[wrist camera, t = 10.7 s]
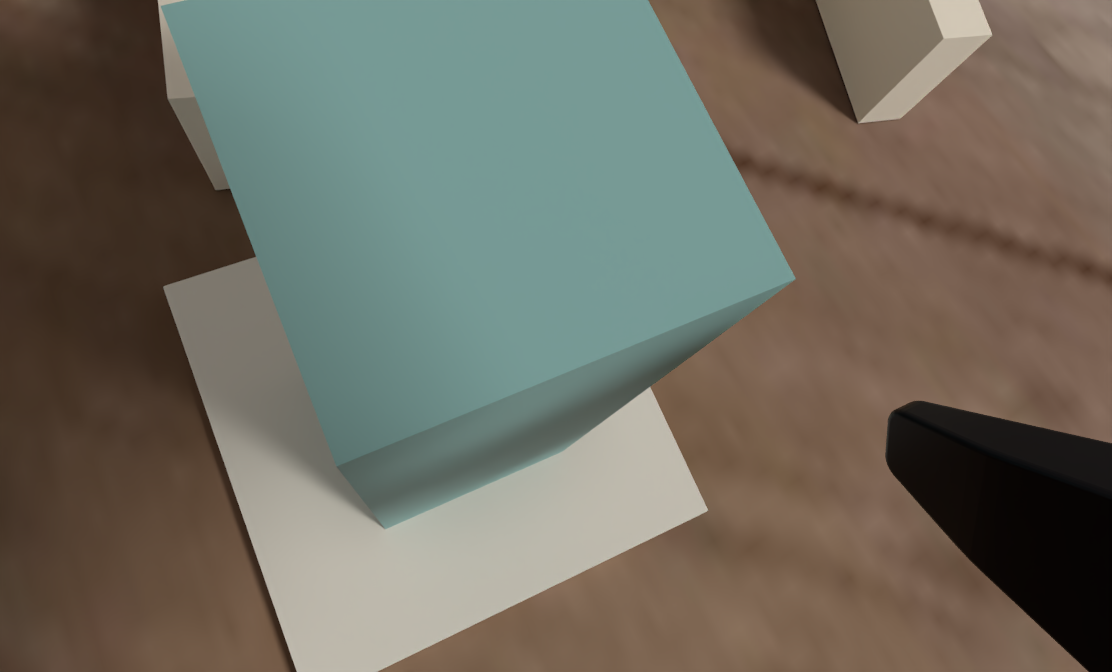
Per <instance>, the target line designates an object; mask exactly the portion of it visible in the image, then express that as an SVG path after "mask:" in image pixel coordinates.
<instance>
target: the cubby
mask: <svg viewBox="0 0 1112 672" xmlns="http://www.w3.org/2000/svg"><path fill="white" fill-rule="evenodd" d="M180 1H184V0H158V6H159V17H160V27H161V37H162V47H163V57H164V67H165V77H166V87H167V98H168V101H169V103H170V105H171V106H172V108H173V110H174V112H175V114H176V116H177V118H178V120H179V122H180V124H181V125H182V127H183V129H184V131H185V133H186V135H187V137H188V139H189V141H190V143H191V144H192V146H193V148H194V150H195V152H196V154H197V156H198V158H199V160H200V162H201V163H202V165H203V167H204V169H205V171H206V173H207V175H208V177H209V179H210V181H211V182H212V184H213V186H214V188H215V190H222V189H230V187H229V184H228V181H227V179H226V176H225V174H224V171H223V168H222V166H221V163H220V161H219V158H218V155H217V153H216V150H215V147H214V145H213V142H212V140H211V137H210V134H209V132H208V129H207V126H206V124H205V121H204V119H203V116H202V113H201V111H200V108H199V106H198V103H197V100H196V98H195V95H194V92H193V90H192V87H191V85H190V82H189V79H188V77H187V74H186V72H185V69H184V66H183V64H182V61H181V58H180V56H179V53H178V51H177V48H176V45H175V43H174V40H173V37H172V35H171V32H170V30H169V27H168V24H167V22H166V19H165V17H164V14H163V11H162V9H161V6H162V5H167V4H171V3H175V2H180ZM816 3H817V6H818V9H819V12H820V14H821V17H822V20H823V23H824V26H825V29H826V32H827V35H828V38H829V41H830V43H831V46H832V49H833V52H834V55H835V58H836V61H837V64H838V67H839V69H840V72H841V75H842V78H843V81H844V84H845V87H846V90H847V93H848V96H849V98H850V101H851V104H852V107H853V110H854V113H855V116H856V119H857V122H858V123H864V122H874V121H884V120H893V119H900V118H902V117H903V116H904V115H905V114H906V113H907V112H908V111H909V110H910V109H911V108H913V107H914V106H915V105H916V104H917V103H918V102H919V101H920V100H921V99H922V98H924V97H925V96H926V95H927V94H928V93H929V92H930V91H931V90H932V89H933V88H935V87H936V86H937V85H938V84H939V83H940V82H941V81H942V80H943V79H944V78H946V77H947V76H948V75H949V74H950V73H951V72H952V71H953V70H954V69H955V68H957V67H958V66H959V65H960V64H961V63H962V62H963V61H964V60H965V59H966V58H968V57H969V56H970V55H971V54H972V53H973V52H974V51H975V50H976V49H977V48H979V47H980V46H981V45H982V44H983V43H984V42H985V41H986V40H987V39H988V38H990V37H991V36H992V33H991V30H990V28H989V25H988V23H987V20H986V18H985V15H984V13H983V10H982V8H981V6H980V3H979V1H978V0H816Z"/></svg>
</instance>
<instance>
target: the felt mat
mask: <svg viewBox="0 0 1112 672" xmlns="http://www.w3.org/2000/svg"><path fill="white" fill-rule="evenodd" d="M163 289H164V291H165V294H166V297H167V300H168V303H169V306H170V309H171V312H172V314H173V317H174V320H175V323H176V326H177V329H178V332H179V335H180V337H181V340H182V343H183V346H184V349H185V352H186V355H187V358H188V360H189V363H190V366H191V369H192V372H193V375H194V378H195V381H196V383H197V386H198V389H199V392H200V395H201V398H202V401H203V404H204V406H205V409H206V412H207V415H208V418H209V421H210V424H211V427H212V429H213V432H214V435H215V438H216V441H217V444H218V447H219V450H220V452H221V455H222V458H223V461H224V464H225V467H226V470H227V473H228V475H229V478H230V481H231V484H232V487H233V490H234V493H235V496H236V498H237V501H238V504H239V507H240V510H241V513H242V516H243V519H244V521H245V524H246V527H247V530H248V533H249V536H250V539H251V542H252V544H253V547H254V550H255V553H256V556H257V559H258V562H259V565H260V567H261V570H262V573H263V576H264V579H265V582H266V585H267V588H268V590H269V593H270V596H271V599H272V602H273V605H274V608H275V611H276V613H277V616H278V619H279V622H280V625H281V628H282V631H283V634H284V636H285V639H286V642H287V645H288V648H289V651H290V654H291V657H292V659H293V662H294V665H295V668H296V671H297V672H377V671H380V670H382V669H384V668H386V667H388V666H390V665H392V664H394V663H396V662H398V661H400V660H402V659H404V658H406V657H408V656H410V655H412V654H414V653H417V652H419V651H421V650H423V649H425V648H427V647H429V646H431V645H433V644H435V643H437V642H439V641H441V640H443V639H445V638H447V637H449V636H452V635H454V634H456V633H458V632H460V631H462V630H464V629H466V628H468V627H470V626H472V625H474V624H476V623H478V622H480V621H482V620H484V619H486V618H489V617H491V616H493V615H495V614H497V613H499V612H501V611H503V610H505V609H507V608H509V607H511V606H513V605H515V604H517V603H519V602H521V601H524V600H526V599H528V598H530V597H532V596H534V595H536V594H538V593H540V592H542V591H544V590H546V589H548V588H550V587H552V586H554V585H556V584H559V583H561V582H563V581H565V580H567V579H569V578H571V577H573V576H575V575H577V574H579V573H581V572H583V571H585V570H587V569H589V568H591V567H593V566H596V565H598V564H600V563H602V562H604V561H606V560H608V559H610V558H612V557H614V556H616V555H618V554H620V553H622V552H624V551H626V550H628V549H631V548H633V547H635V546H637V545H639V544H641V543H643V542H645V541H647V540H649V539H651V538H653V537H655V536H657V535H659V534H661V533H663V532H665V531H668V530H670V529H672V528H674V527H676V526H678V525H680V524H682V523H684V522H686V521H688V520H690V519H692V518H694V517H696V516H698V515H700V514H703V513H705V512H707V511H708V509H707V507H706V505H705V503H704V501H703V499H702V496H701V494H700V492H699V490H698V488H697V486H696V484H695V482H694V479H693V477H692V475H691V473H690V471H689V469H688V467H687V465H686V462H685V460H684V458H683V456H682V454H681V452H680V450H679V448H678V445H677V443H676V441H675V439H674V437H673V435H672V433H671V431H670V428H669V426H668V424H667V422H666V420H665V418H664V416H663V414H662V411H661V409H660V407H659V405H658V403H657V401H656V399H655V397H654V394H653V392H652V390H651V388H650V387H649V388H648V389H646V390H645V391H644V392H642V393H641V394H640V395H638V396H637V397H635V398H634V399H633V400H631V401H630V402H629V403H627V404H626V405H625V406H623V407H622V408H621V409H619V410H618V411H617V412H615V413H614V414H613V415H611V416H610V417H608V418H607V419H606V420H604V421H603V422H602V423H600V424H599V425H598V426H596V427H595V428H594V429H592V430H591V431H590V432H588V433H587V434H585V435H584V436H583V437H581V438H580V439H579V440H577V441H576V442H575V443H573V444H572V445H571V446H569V447H568V448H567V449H565V450H564V451H562V452H560V453H558V454H556V455H553V456H551V457H549V458H547V459H544V460H542V461H540V462H538V463H535V464H533V465H531V466H528V467H526V468H524V469H522V470H519V471H517V472H515V473H512V474H510V475H508V476H506V477H503V478H501V479H499V480H497V481H494V482H492V483H490V484H487V485H485V486H483V487H481V488H478V489H476V490H474V491H471V492H469V493H467V494H465V495H462V496H460V497H458V498H456V499H453V500H451V501H449V502H446V503H444V504H442V505H440V506H437V507H435V508H433V509H431V510H428V511H426V512H424V513H421V514H419V515H417V516H415V517H412V518H410V519H408V520H405V521H403V522H401V523H399V524H396V525H394V526H392V527H390V528H387V529H385V528H384V527H383V525H382V524H381V523H380V522H379V520H378V519H377V518H376V517H375V515H374V514H373V513H372V511H371V510H370V509H369V508H368V506H367V505H366V504H365V502H364V501H363V500H362V499H361V497H360V496H359V495H358V493H357V492H356V491H355V490H354V488H353V487H352V486H351V485H350V483H349V482H348V481H347V479H346V478H345V477H344V476H343V474H342V473H341V472H340V470H339V469H338V468H337V467H336V464H335V462H334V459H333V456H332V454H331V451H330V448H329V446H328V443H327V441H326V438H325V435H324V433H323V430H322V428H321V425H320V422H319V420H318V417H317V414H316V412H315V409H314V407H313V404H312V401H311V399H310V396H309V393H308V391H307V388H306V386H305V383H304V380H303V378H302V375H301V373H300V370H299V367H298V365H297V362H296V359H295V357H294V354H293V352H292V349H291V346H290V344H289V341H288V339H287V336H286V333H285V331H284V328H283V325H282V323H281V320H280V318H279V315H278V312H277V310H276V307H275V304H274V302H273V299H272V297H271V294H270V291H269V289H268V286H267V284H266V281H265V278H264V276H263V273H262V270H261V268H260V265H259V263H258V260H257V257H254V258H251V259H247V260H244V261H241V262H238V263H235V264H232V265H229V266H225V267H222V268H219V269H216V270H213V271H210V272H207V273H203V274H200V275H197V276H194V277H191V278H188V279H185V280H181V281H178V282H175V283H172V284H169V285H166V286H163Z"/></svg>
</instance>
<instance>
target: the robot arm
mask: <svg viewBox="0 0 1112 672" xmlns="http://www.w3.org/2000/svg"><path fill="white" fill-rule="evenodd" d="M885 457H886V462H887V465H888V467H889V469H890V470H891V472H892V473H893V475H894V476H895V477H896V478H897V479H898V481H899V482H900V483H901V484H902V485H903V486H904V487H905V488H906V490H907V491H908V492H909V493H910V494H911V495H912V496H913V497H914V499H915V500H916V501H917V502H918V503H919V504H920V505H921V506H922V508H923V509H924V510H925V511H926V512H927V513H928V514H929V515H930V517H931V518H932V519H933V520H934V521H935V522H936V523H937V525H938V526H939V527H940V528H941V529H942V530H943V531H944V532H945V534H946V535H947V536H948V537H949V538H950V539H951V540H952V541H953V543H954V544H955V545H956V546H957V547H958V548H959V549H960V550H961V551H962V552H963V553H964V554H965V555H966V557H967V558H968V559H969V560H970V561H971V562H972V563H973V564H974V565H975V566H976V567H977V568H978V569H980V570H981V571H982V572H983V573H984V574H985V575H986V576H987V577H988V578H989V579H990V580H991V581H992V582H993V583H994V584H995V585H996V586H998V587H999V588H1000V589H1001V590H1002V591H1003V592H1004V593H1005V594H1006V595H1007V596H1008V597H1009V598H1010V599H1011V600H1012V601H1014V602H1015V603H1016V604H1017V605H1018V606H1019V607H1020V608H1021V609H1022V610H1023V611H1024V612H1025V613H1026V614H1027V615H1029V616H1030V617H1031V618H1032V619H1033V620H1034V621H1035V622H1036V623H1037V624H1038V625H1039V626H1040V627H1041V628H1042V629H1044V630H1045V631H1046V632H1047V633H1048V634H1049V635H1050V636H1051V637H1052V638H1053V639H1054V640H1055V641H1056V642H1057V643H1058V644H1060V645H1061V646H1062V647H1063V648H1064V649H1065V650H1066V651H1067V652H1068V653H1069V654H1070V655H1071V656H1072V657H1073V658H1075V659H1076V660H1077V661H1078V662H1079V663H1080V664H1081V665H1082V666H1083V667H1084V668H1085V669H1086V670H1087V671H1088V672H1112V443H1108V442H1103V441H1099V440H1094V439H1090V438H1085V437H1081V436H1076V435H1072V434H1067V433H1063V432H1059V431H1054V430H1050V429H1045V428H1041V427H1036V426H1032V425H1027V424H1023V423H1018V422H1014V421H1010V420H1005V419H1001V418H996V417H992V416H987V415H983V414H978V413H974V412H969V411H965V410H961V409H956V408H952V407H947V406H943V405H938V404H934V403H929V402H925V401H913V402H910V403H908V404H906V405H904V406H902V407H900V408H898V409H896V410H894V411H893V412H891V414H890V416H889V418H888V427H887V440H886V453H885Z"/></svg>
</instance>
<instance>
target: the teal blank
mask: <svg viewBox="0 0 1112 672" xmlns="http://www.w3.org/2000/svg"><path fill="white" fill-rule="evenodd" d="M161 9H162V11H163V14H164V17H165V19H166V22H167V24H168V27H169V30H170V32H171V35H172V37H173V40H174V43H175V45H176V48H177V51H178V53H179V56H180V58H181V61H182V64H183V66H184V69H185V72H186V74H187V77H188V79H189V82H190V85H191V87H192V90H193V92H194V95H195V98H196V100H197V103H198V106H199V108H200V111H201V113H202V116H203V119H204V121H205V124H206V126H207V129H208V132H209V134H210V137H211V140H212V142H213V145H214V147H215V150H216V153H217V155H218V158H219V161H220V163H221V166H222V168H223V171H224V174H225V176H226V179H227V181H228V184H229V187H230V189H231V192H232V195H233V197H234V200H235V202H236V205H237V208H238V210H239V213H240V215H241V218H242V221H243V223H244V226H245V229H246V231H247V234H248V236H249V239H250V242H251V244H252V247H253V250H254V252H255V255H256V257H257V260H258V263H259V265H260V268H261V270H262V273H263V276H264V278H265V281H266V284H267V286H268V289H269V291H270V294H271V297H272V299H273V302H274V304H275V307H276V310H277V312H278V315H279V318H280V320H281V323H282V325H283V328H284V331H285V333H286V336H287V339H288V341H289V344H290V346H291V349H292V352H293V354H294V357H295V359H296V362H297V365H298V367H299V370H300V373H301V375H302V378H303V380H304V383H305V386H306V388H307V391H308V393H309V396H310V399H311V401H312V404H313V407H314V409H315V412H316V414H317V417H318V420H319V422H320V425H321V428H322V430H323V433H324V435H325V438H326V441H327V443H328V446H329V448H330V451H331V454H332V456H333V459H334V462H335V464H336V467H337V468H338V469H339V470H340V472H341V473H342V474H343V476H344V477H345V478H346V479H347V481H348V482H349V483H350V485H351V486H352V487H353V488H354V490H355V491H356V492H357V493H358V495H359V496H360V497H361V499H362V500H363V501H364V502H365V504H366V505H367V506H368V508H369V509H370V510H371V511H372V513H373V514H374V515H375V517H376V518H377V519H378V520H379V522H380V523H381V524H382V525H383V527H384V528H385V529H387V528H390V527H392V526H394V525H396V524H399V523H401V522H403V521H405V520H408V519H410V518H412V517H415V516H417V515H419V514H421V513H424V512H426V511H428V510H431V509H433V508H435V507H437V506H440V505H442V504H444V503H446V502H449V501H451V500H453V499H456V498H458V497H460V496H462V495H465V494H467V493H469V492H471V491H474V490H476V489H478V488H481V487H483V486H485V485H487V484H490V483H492V482H494V481H497V480H499V479H501V478H503V477H506V476H508V475H510V474H512V473H515V472H517V471H519V470H522V469H524V468H526V467H528V466H531V465H533V464H535V463H538V462H540V461H542V460H544V459H547V458H549V457H551V456H553V455H556V454H558V453H560V452H562V451H564V450H565V449H567V448H568V447H569V446H571V445H572V444H573V443H575V442H576V441H577V440H579V439H580V438H581V437H583V436H584V435H585V434H587V433H588V432H590V431H591V430H592V429H594V428H595V427H596V426H598V425H599V424H600V423H602V422H603V421H604V420H606V419H607V418H608V417H610V416H611V415H613V414H614V413H615V412H617V411H618V410H619V409H621V408H622V407H623V406H625V405H626V404H627V403H629V402H630V401H631V400H633V399H634V398H635V397H637V396H638V395H640V394H641V393H642V392H644V391H645V390H646V389H648V388H649V387H650V386H652V385H653V384H654V383H656V382H657V381H658V380H660V379H661V378H663V377H664V376H665V375H667V374H668V373H669V372H671V371H672V370H673V369H675V368H676V367H677V366H679V365H680V364H681V363H683V362H684V361H686V360H687V359H688V358H690V357H691V356H692V355H694V354H695V353H696V352H698V351H699V350H700V349H702V348H703V347H704V346H706V345H707V344H708V343H710V342H711V341H713V340H714V339H715V338H717V337H718V336H719V335H721V334H722V333H723V332H725V331H726V330H727V329H729V328H730V327H731V326H733V325H734V324H736V323H737V322H738V321H740V320H741V319H742V318H744V317H745V316H746V315H748V314H749V313H750V312H752V311H753V310H754V309H756V308H757V307H758V306H760V305H761V304H763V303H764V302H765V301H767V300H768V299H769V298H771V297H772V296H773V295H775V294H776V293H777V292H779V291H780V290H781V289H783V288H784V287H786V286H787V285H788V284H790V283H791V282H792V281H794V280H795V279H796V278H795V277H794V275H793V273H792V271H791V269H790V267H789V265H788V263H787V261H786V260H785V258H784V256H783V254H782V252H781V250H780V248H779V246H778V245H777V243H776V241H775V239H774V237H773V235H772V233H771V231H770V229H769V228H768V226H767V224H766V222H765V220H764V218H763V216H762V214H761V212H760V211H759V209H758V207H757V205H756V203H755V201H754V199H753V197H752V195H751V194H750V192H749V190H748V188H747V186H746V184H745V182H744V180H743V179H742V177H741V175H740V173H739V171H738V169H737V167H736V165H735V163H734V162H733V160H732V158H731V156H730V154H729V152H728V150H727V148H726V146H725V145H724V143H723V141H722V139H721V137H720V135H719V133H718V131H717V130H716V128H715V126H714V124H713V122H712V120H711V118H710V116H709V114H708V113H707V111H706V109H705V107H704V105H703V103H702V101H701V99H700V97H699V96H698V94H697V92H696V90H695V88H694V86H693V84H692V82H691V81H690V79H689V77H688V75H687V73H686V71H685V69H684V67H683V65H682V64H681V62H680V60H679V58H678V56H677V54H676V52H675V50H674V48H673V47H672V45H671V43H670V41H669V39H668V37H667V35H666V33H665V31H664V30H663V28H662V26H661V24H660V22H659V20H658V18H657V16H656V15H655V13H654V11H653V9H652V7H651V5H650V3H649V1H648V0H184V1H180V2H175V3H171V4H167V5H162V6H161Z"/></svg>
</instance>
